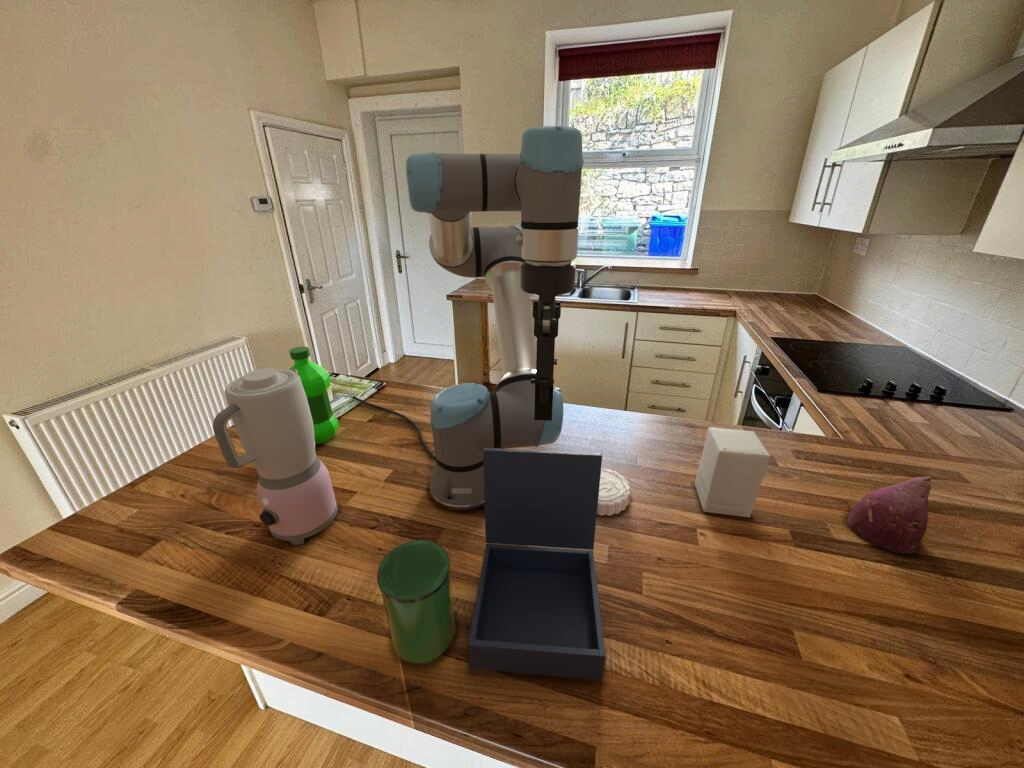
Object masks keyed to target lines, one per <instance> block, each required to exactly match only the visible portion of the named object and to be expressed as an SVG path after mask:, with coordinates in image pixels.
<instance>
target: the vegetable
mask: <svg viewBox="0 0 1024 768" xmlns="http://www.w3.org/2000/svg"><path fill="white" fill-rule="evenodd" d="M931 479H932V476H918V477H913V478H911V479H908V480H905V481H902V482H900V483H897V484H893V485H888V486H883V487H879V488H877V489H875V490H872V491H871V492H869V493H867V494H865V495H864V496H863V497H862V498H860V499H859V500H858V501H857V502H856V503H855V504H854V505H853V507H852V508H851V509H850V512H849V515H848V518H847V525H848V527H849V528H850V529H851V530H852V531H853V532H854V533H855V534H857V535H858V536H859V537H860V538H862V539H863V540H865V541H867V542H869V543H871V544H873V545H874V546H876V547H879V548H882V549H885V550H887V551H890V552H893V553H897V554H900V555H901V554H902V555H911V554H914V553H916V551H917V550H918V547H919V546H920V544H921V542H922V541H923V538H924V535H925V533H926V531H927V528H928V522H929V512H928V509H929V508H928V506H929V505H928V504H929V495H930V491H931V489H932V481H931Z"/></svg>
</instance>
